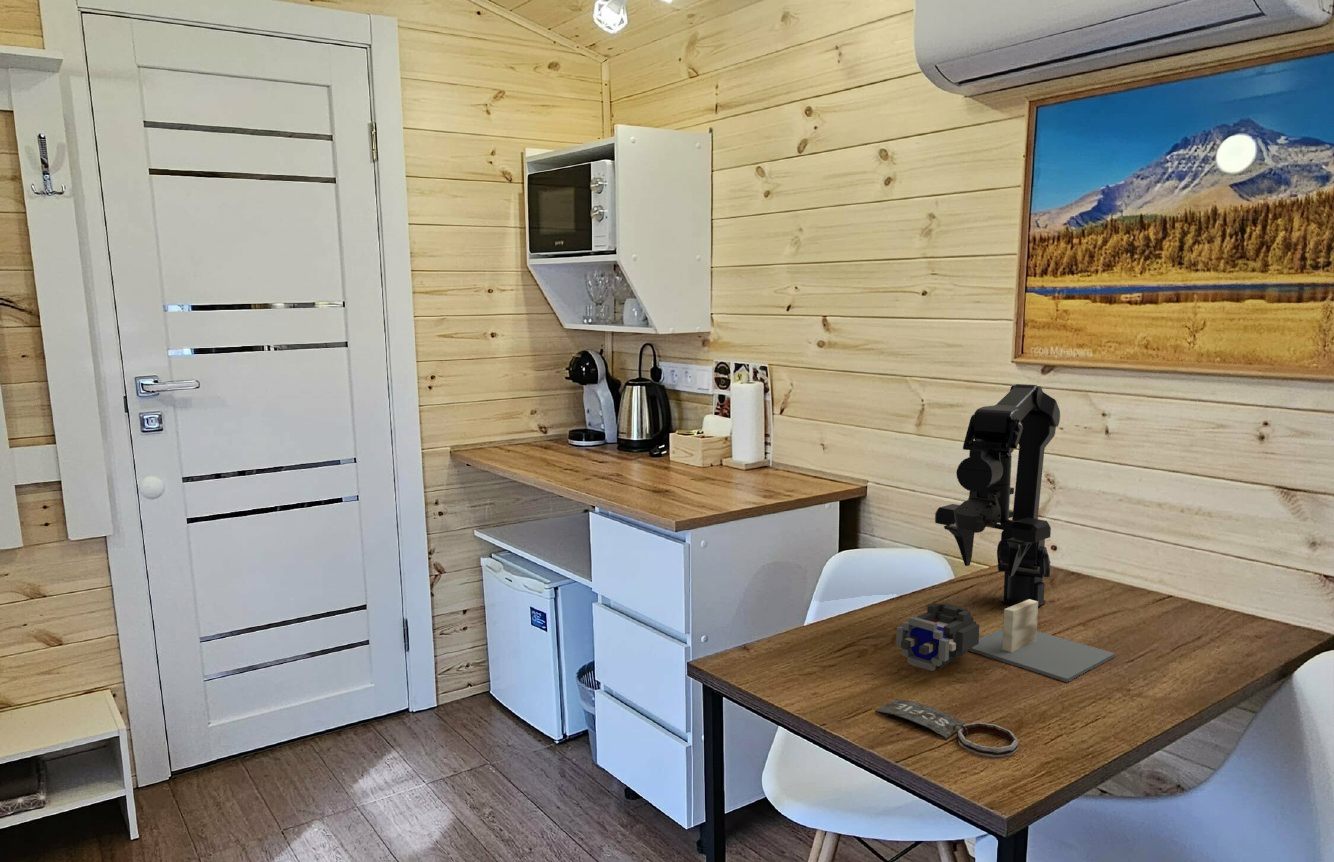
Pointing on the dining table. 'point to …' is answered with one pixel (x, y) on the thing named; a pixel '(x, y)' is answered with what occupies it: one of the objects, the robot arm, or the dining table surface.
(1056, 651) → the mat
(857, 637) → the dining table surface
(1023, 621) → the tile
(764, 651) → the dining table surface
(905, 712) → the keychain
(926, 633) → the toy
